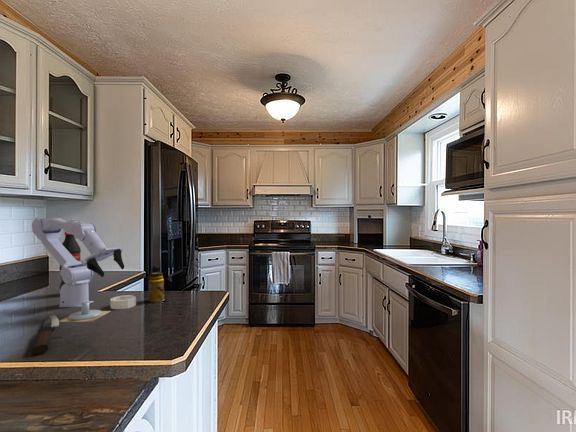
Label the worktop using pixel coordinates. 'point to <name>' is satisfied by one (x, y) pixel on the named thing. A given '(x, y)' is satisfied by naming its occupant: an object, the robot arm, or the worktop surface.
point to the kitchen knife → (45, 335)
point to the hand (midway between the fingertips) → (113, 271)
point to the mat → (84, 320)
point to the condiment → (156, 287)
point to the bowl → (123, 302)
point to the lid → (85, 313)
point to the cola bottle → (71, 249)
